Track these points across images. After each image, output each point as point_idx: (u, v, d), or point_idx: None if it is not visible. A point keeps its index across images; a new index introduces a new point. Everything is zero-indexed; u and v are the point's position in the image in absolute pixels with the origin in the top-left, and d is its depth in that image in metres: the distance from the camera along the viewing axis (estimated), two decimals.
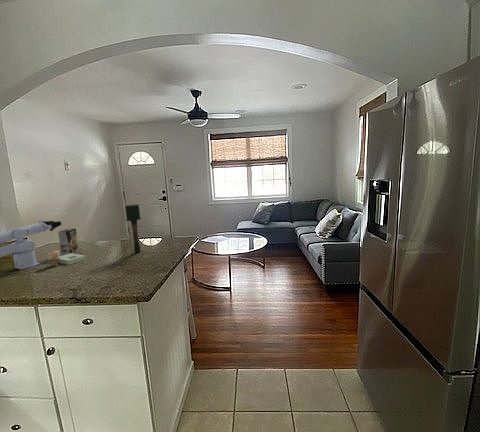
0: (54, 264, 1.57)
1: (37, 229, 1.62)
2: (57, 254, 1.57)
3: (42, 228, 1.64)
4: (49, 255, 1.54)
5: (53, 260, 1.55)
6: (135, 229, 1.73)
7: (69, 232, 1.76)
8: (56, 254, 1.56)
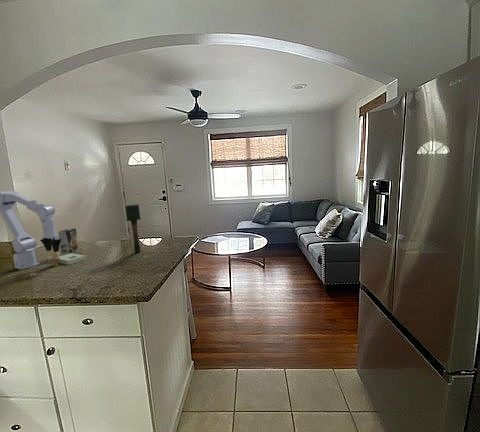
0: (54, 264, 1.57)
1: None
2: (57, 254, 1.57)
3: None
4: (49, 255, 1.54)
5: (53, 260, 1.55)
6: (135, 229, 1.73)
7: (69, 232, 1.76)
8: (56, 254, 1.56)
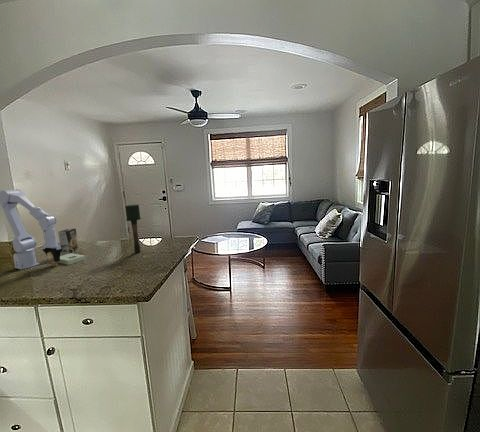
0: (54, 264, 1.57)
1: None
2: None
3: None
4: (49, 255, 1.54)
5: (53, 260, 1.55)
6: (135, 229, 1.73)
7: (69, 232, 1.76)
8: None
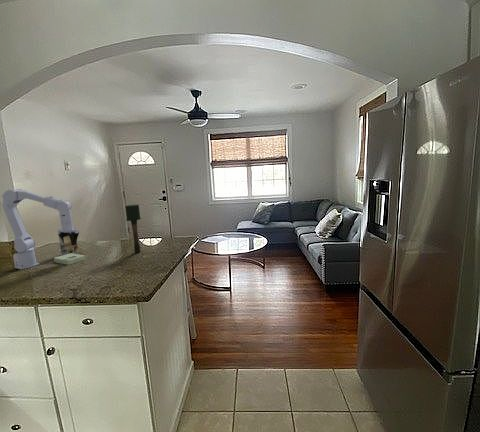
0: (71, 248, 1.62)
1: None
2: None
3: None
4: (66, 239, 1.60)
5: (71, 244, 1.61)
6: (135, 229, 1.73)
7: None
8: None
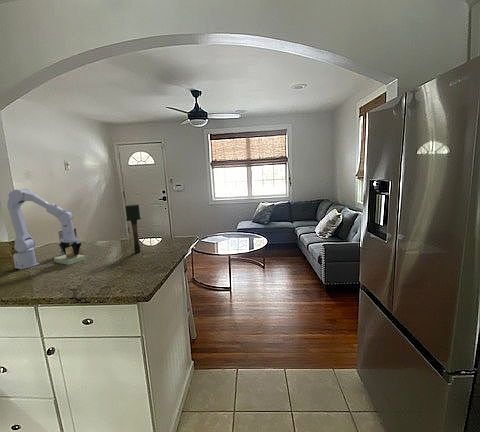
0: None
1: None
2: None
3: None
4: (68, 250, 1.61)
5: (72, 255, 1.62)
6: (135, 229, 1.73)
7: None
8: None
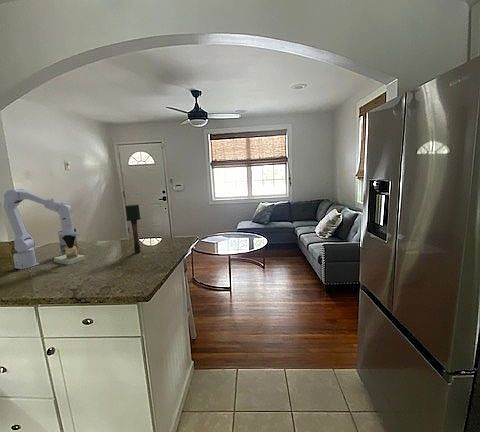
0: None
1: None
2: (75, 249, 1.64)
3: None
4: (68, 250, 1.61)
5: (72, 255, 1.62)
6: (135, 229, 1.73)
7: None
8: (75, 249, 1.63)
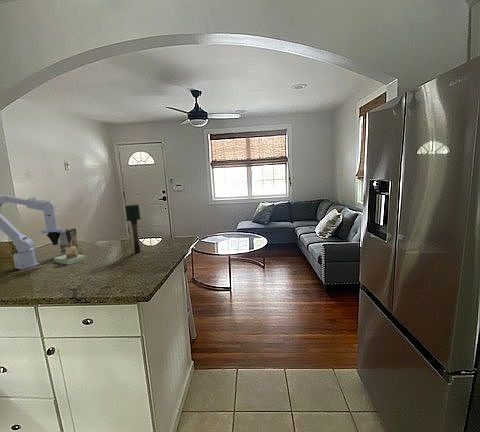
0: None
1: None
2: (75, 249, 1.64)
3: None
4: (68, 250, 1.61)
5: (72, 255, 1.62)
6: (135, 229, 1.73)
7: (69, 232, 1.76)
8: (75, 249, 1.63)
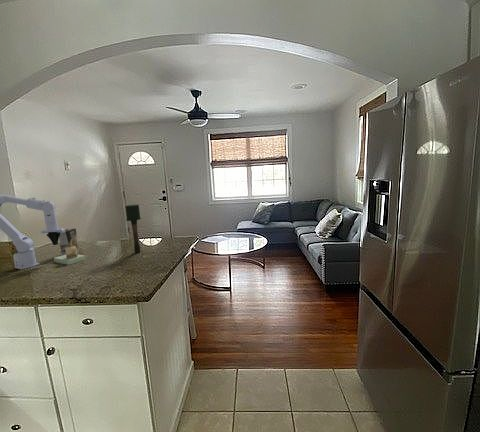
0: None
1: None
2: (75, 249, 1.64)
3: None
4: (68, 250, 1.61)
5: (72, 255, 1.62)
6: (135, 229, 1.73)
7: (69, 232, 1.76)
8: (75, 249, 1.63)
